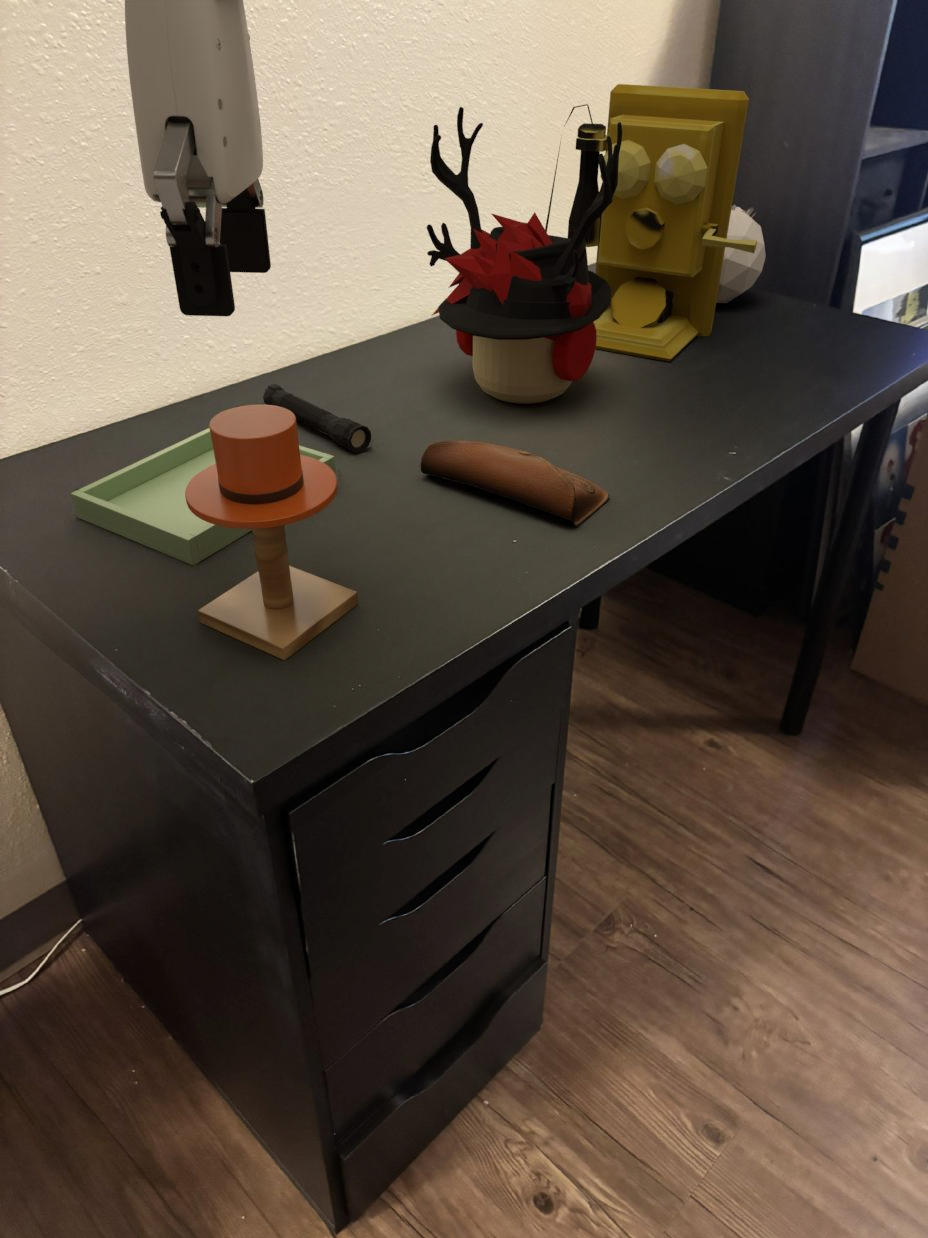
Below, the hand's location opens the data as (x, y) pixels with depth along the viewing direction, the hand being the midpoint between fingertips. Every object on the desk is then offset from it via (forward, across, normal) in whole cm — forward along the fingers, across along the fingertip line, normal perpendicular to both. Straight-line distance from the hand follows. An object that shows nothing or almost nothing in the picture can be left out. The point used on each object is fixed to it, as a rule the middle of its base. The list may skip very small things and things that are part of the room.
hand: (229, 291), depth 59 cm
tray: (+25, -19, -10) cm, 34 cm away
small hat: (+14, 0, 0) cm, 15 cm away
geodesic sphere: (+24, -87, +50) cm, 103 cm away
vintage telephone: (+25, -69, +35) cm, 82 cm away
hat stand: (+26, 0, 0) cm, 26 cm away
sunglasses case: (+25, -23, +20) cm, 39 cm away
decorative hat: (+25, -48, +20) cm, 58 cm away
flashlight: (+25, -36, -3) cm, 44 cm away
